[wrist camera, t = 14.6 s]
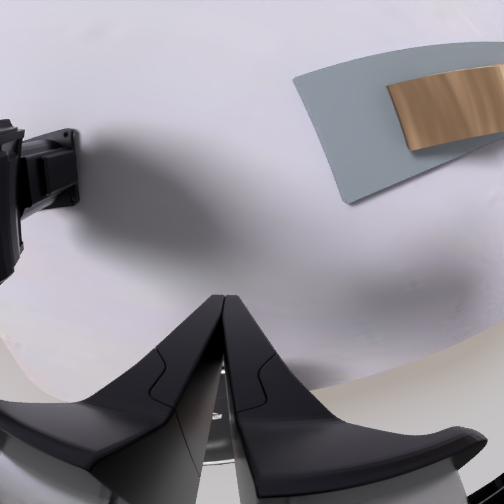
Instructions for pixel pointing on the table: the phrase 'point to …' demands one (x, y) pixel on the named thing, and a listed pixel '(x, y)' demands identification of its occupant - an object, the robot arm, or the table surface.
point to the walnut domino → (449, 106)
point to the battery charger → (220, 429)
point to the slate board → (383, 114)
